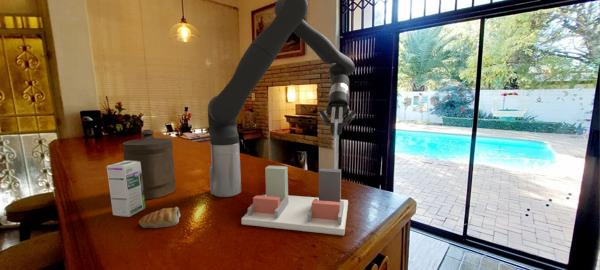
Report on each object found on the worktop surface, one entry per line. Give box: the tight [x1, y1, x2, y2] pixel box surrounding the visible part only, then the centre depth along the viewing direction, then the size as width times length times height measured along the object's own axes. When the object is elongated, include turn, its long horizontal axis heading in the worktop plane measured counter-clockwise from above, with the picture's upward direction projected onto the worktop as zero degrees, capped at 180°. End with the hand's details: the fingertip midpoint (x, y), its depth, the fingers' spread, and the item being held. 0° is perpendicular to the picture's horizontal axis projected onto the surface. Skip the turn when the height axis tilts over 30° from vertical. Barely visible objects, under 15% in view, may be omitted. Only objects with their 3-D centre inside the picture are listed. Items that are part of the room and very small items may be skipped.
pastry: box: [138, 206, 181, 229], centre depth 67 cm, size 9×7×4 cm
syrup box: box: [106, 160, 147, 218], centre depth 73 cm, size 6×6×14 cm
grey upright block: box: [318, 167, 342, 203], centre depth 74 cm, size 6×3×10 cm, turn 77°
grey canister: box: [122, 129, 177, 200], centre depth 88 cm, size 15×15×22 cm
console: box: [241, 194, 349, 236], centre depth 71 cm, size 26×18×6 cm
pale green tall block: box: [264, 165, 289, 202], centre depth 77 cm, size 6×3×10 cm, turn 77°
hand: (335, 133), depth 87 cm, fingers closed
